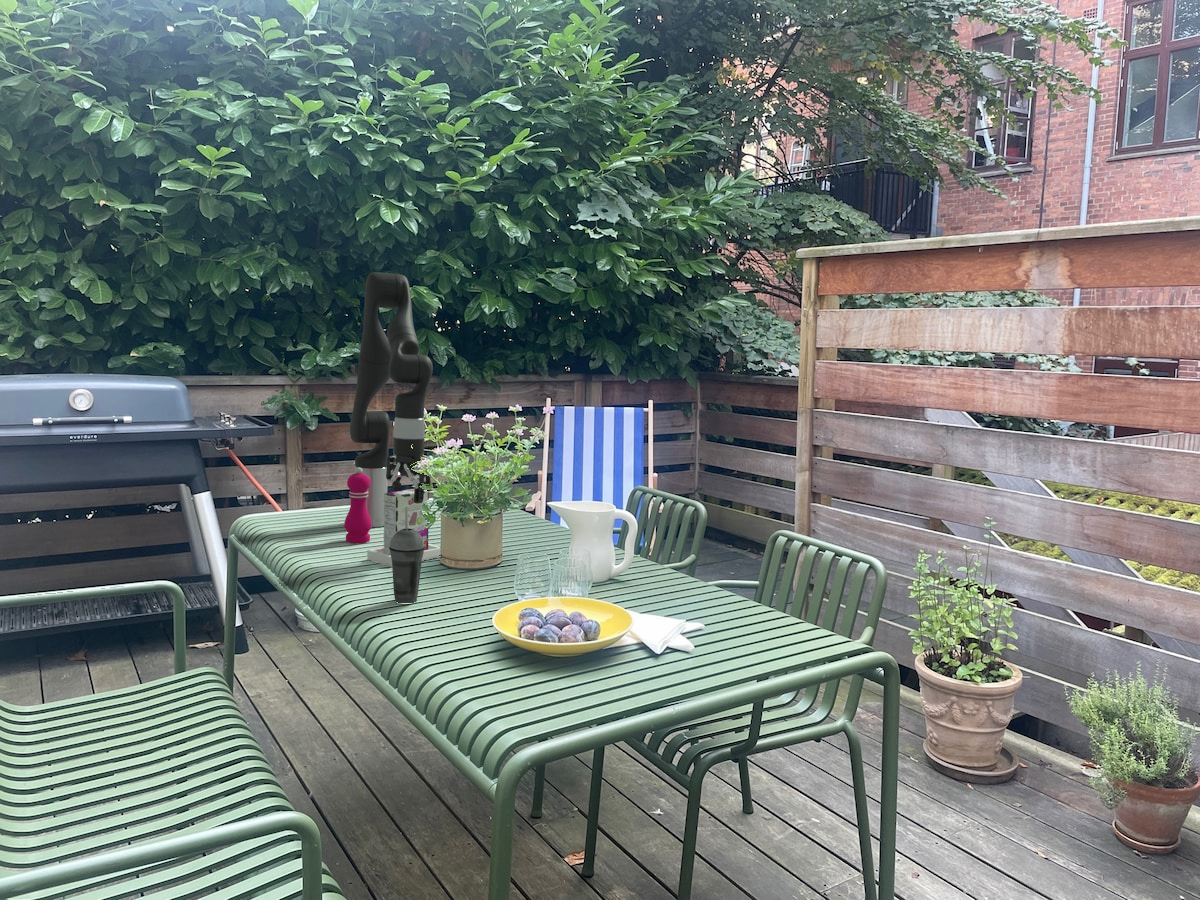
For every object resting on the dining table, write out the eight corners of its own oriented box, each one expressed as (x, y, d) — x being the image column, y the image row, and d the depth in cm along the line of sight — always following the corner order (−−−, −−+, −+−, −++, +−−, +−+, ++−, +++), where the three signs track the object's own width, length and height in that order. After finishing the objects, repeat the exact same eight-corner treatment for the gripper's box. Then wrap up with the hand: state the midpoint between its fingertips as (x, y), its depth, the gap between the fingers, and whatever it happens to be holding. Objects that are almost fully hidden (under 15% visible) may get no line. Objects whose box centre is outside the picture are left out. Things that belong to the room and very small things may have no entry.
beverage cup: (392, 608, 181) (394, 512, 178) (384, 598, 187) (386, 505, 185) (427, 604, 184) (430, 510, 182) (417, 595, 190) (420, 504, 188)
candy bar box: (414, 550, 227) (416, 487, 226) (428, 553, 225) (430, 490, 223) (381, 558, 218) (383, 492, 216) (396, 561, 215) (397, 495, 213)
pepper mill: (367, 544, 234) (368, 470, 231) (340, 543, 234) (341, 468, 231) (374, 538, 241) (376, 466, 238) (348, 537, 241) (349, 464, 239)
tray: (367, 559, 218) (367, 550, 218) (418, 549, 231) (418, 540, 230) (392, 567, 212) (392, 557, 212) (443, 557, 224) (444, 547, 224)
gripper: (439, 438, 216) (437, 503, 218) (403, 432, 225) (401, 494, 227) (415, 439, 210) (413, 506, 212) (378, 433, 219) (377, 497, 221)
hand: (407, 500), depth 220 cm, fingers open, 8 cm apart
